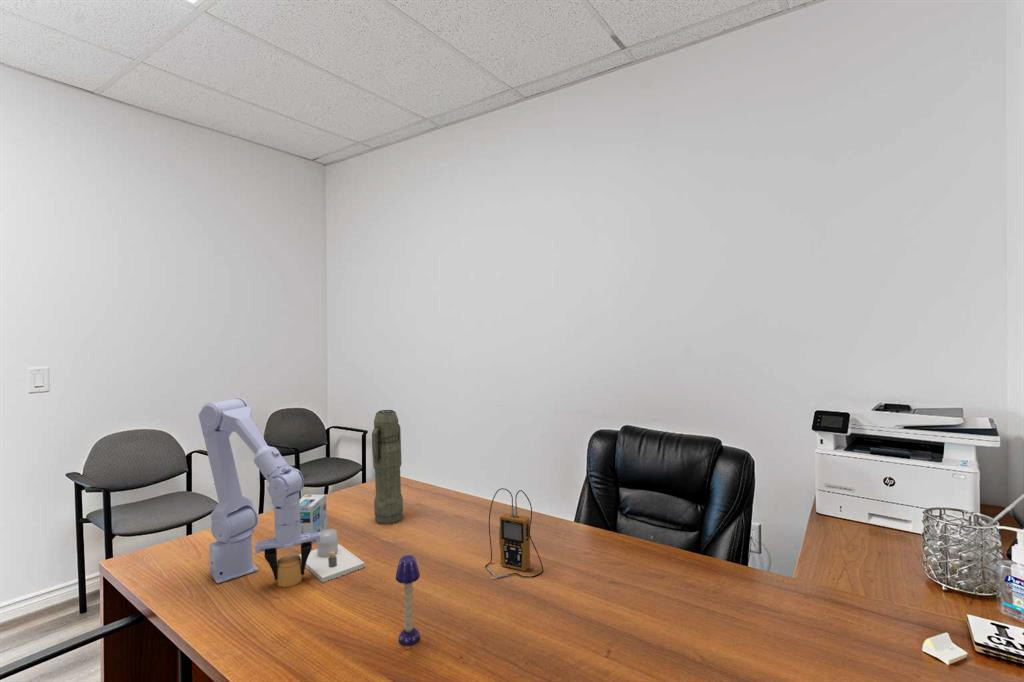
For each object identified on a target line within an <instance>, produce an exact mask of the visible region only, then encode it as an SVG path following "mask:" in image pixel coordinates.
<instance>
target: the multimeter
mask: <svg viewBox="0 0 1024 682" xmlns="http://www.w3.org/2000/svg"><path fill="white" fill-rule="evenodd" d="M501 490H504V491H505V490H506V491H507V492H508V493H509V495H510V496H511V511H510V513H508V512H505V513H503V514H502V515H501V516H499V535H498V536H499V538H498V539H499V549H500V550H499V551H500V565H501V566H502V567H503V568H510V569H514V570H518V571H521V572H526V571H527V570H528V569H529V568H530V567H531V543H532V546H533V548H534V550H535V552H536V555H537V558H538V559H539V562H540V565H541V572H539V573H538V574H536V575H535V574H534V575H531V576H528V575H527V576H526V575H522V574H520V573H516V572H513V573H507V574H500V575H496V576H495V574H494V573H493V571H492V569H490V568H489V567H488V566H489V565H490V564H491V563H492V560H493V559H492V558H493V550H492V539H491V538H492V537H491V527H490V526H491V525H490V523H491V522H490V520H491V512H492V508H493V507H492V506H493V504H494V503H493V502H494V499H495V497H496V495H497V493H498V492H499V491H501ZM519 492H522V494H524V496H525V497H526V499H527V501H528V504H529V505H530V506H529V507H530V517H528V516H523V515H518V510H517V509H518V506H517V496H518V495H519ZM514 498H515V507H514ZM514 498H513V494H512V492H511V491H510V490H509V489H507V488H504V487H503V488H501V487H500V488H498V490H496V491H495V493H494V495H493V498H492V501H491V503H490V508H489V515H488V534H489V535H488V536H489V543H490V561H489V562H487V564H485V568H486V569H487V572H489V573H490V574H492V575H493V577H491V578H489V579H490V580H494V579H500V578H504V577H508V576H511V575H517V576H520V577H523V578H534V577H537V576H539V575H541V574H543V572H544V567H543V566H544V565H543V563H542V560H541V558H540V555H539V552H538V550H537V547H536V546H535V544H534V542H533V539H532V536H531V525H532V520H533V519H532V518H533V507H532V503H531V501H530V499H529V497H528V495H527V494H526V493H525V491H523V490H522V489H521V490H520V489H519V490H518V491H517V492H516V494H515V497H514ZM514 508H515V510H514Z"/></svg>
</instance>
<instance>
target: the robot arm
mask: <svg viewBox="0 0 1024 682" xmlns="http://www.w3.org/2000/svg"><path fill="white" fill-rule="evenodd" d="M252 411H253V410H252V409H251V407H250V406H249V404H248V402H247V401H246V399H244V398H242V397H236V398H232V399H228V400H227V399H226V400H222V401H216V402H207V403H206V404H204V406H202V408H201V410H200V412H199V413H198V418H199V423H200V424H199V425H200V427H201V432H202V435H203V439H204V443H205V448H206V449H205V450H206V452H207V457H208V461H209V466H210V469H211V474H212V479H213V482H214V487H215V492H216V495H217V500H218V503H217V504H216V506H215V508H214V509H213V511H211V513H210V519H211V525H210V532H211V535H212V537H213V538H214V539H215V540H216V541H214V542H212V543H210V544H209V546H208V547H209V548H208V549H209V550H208V551H209V553H208V554H209V574H210V576H211V577H212V579H213V580H214V581H215V583H216V584H221V583H223V582H227V581H230V580H233V579H236V578H239V577H242V576H246V575H249V574H251V573H255V572H257V571H259V568H258V567H257V565H256V564H255V563H254V562H253V537H252V535H253V534H254V532H255V528H256V527H257V526H258V523H259V514H258V512H257V509H255V507H254V504H253V500H252V499H250V498H247V497H246V496H243V491H242V489H241V483H240V479H239V476H238V472H237V471H238V470H237V467H236V461H235V458H234V454H233V449H232V445H231V441H230V436H231V435H232V433H236V435H238V437H240V439H241V440H242V441H243V442H244V444H245V445H247V447H248V448H249V449H250V450H251V452H252V453H253V454H254V457H253V463H254V464H255V465H256V467H257V468H258V470H259V471H260V473H261V474H262V475H263V477H264V478H265V480H266V481H267V482H268V486H267V487H266V488H267V492H268V495H269V496H270V498H271V504H272V506H273V509H274V515H273V516H274V533H275V534H274V536H275V537H273V538H269V539H266V540H263V541H258V542H255V543H254V553H255V554H256V555H257V554H260V553H261V552H264V556H263V557H264V558H265V560H266V562H267V563H268V565H269V566H270V569H271V571H272V574H273V579H274V580H275V581H278V572H277V566H278V563H277V561H278V556H277V555H278V554H277V553H278V552H277V551H278V549H288V548H289V549H290V548H293V547H294V546H296V547H297V546H300V554H301V576H304V575H305V571H306V570H305V569H306V567H305V565H306V561H307V559H308V556H309V554H310V552H311V551H312V550H313V549H312V548H313V547H312V546H313V545H312V544H313V543H315V544H317V543H320V532H317V533H301V528H300V499H301V498H300V491H302V490H303V488H304V486H305V478H304V475H303V474H302V471H300V470H299V469H298V468H294V467H293V466H292V465H289V464H288V463H287V461H286V460H285V459H284V457H283V456H282V454H281V452H280V451H279V449H277V448H276V447H274V446H270V445H268V443H267V442H266V441H265V439H264V437H263V435H262V434H261V432H260V430H259V429H258V427H257V425H256V423H255V422H254V420H253V419H252V414H253V413H252Z"/></svg>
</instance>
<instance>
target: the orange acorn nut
mask: <svg viewBox="0 0 1024 682" xmlns="http://www.w3.org/2000/svg"><path fill="white" fill-rule="evenodd" d="M277 572H278V580H277V586H278V587H282V588H287V587H293V586H296V585H297V584H299V583H300V582H302V575H301V557H300V556H299V554H296V553H295V554H287V555H286V554H285V555H284V556H281V557H280V558H277Z"/></svg>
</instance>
